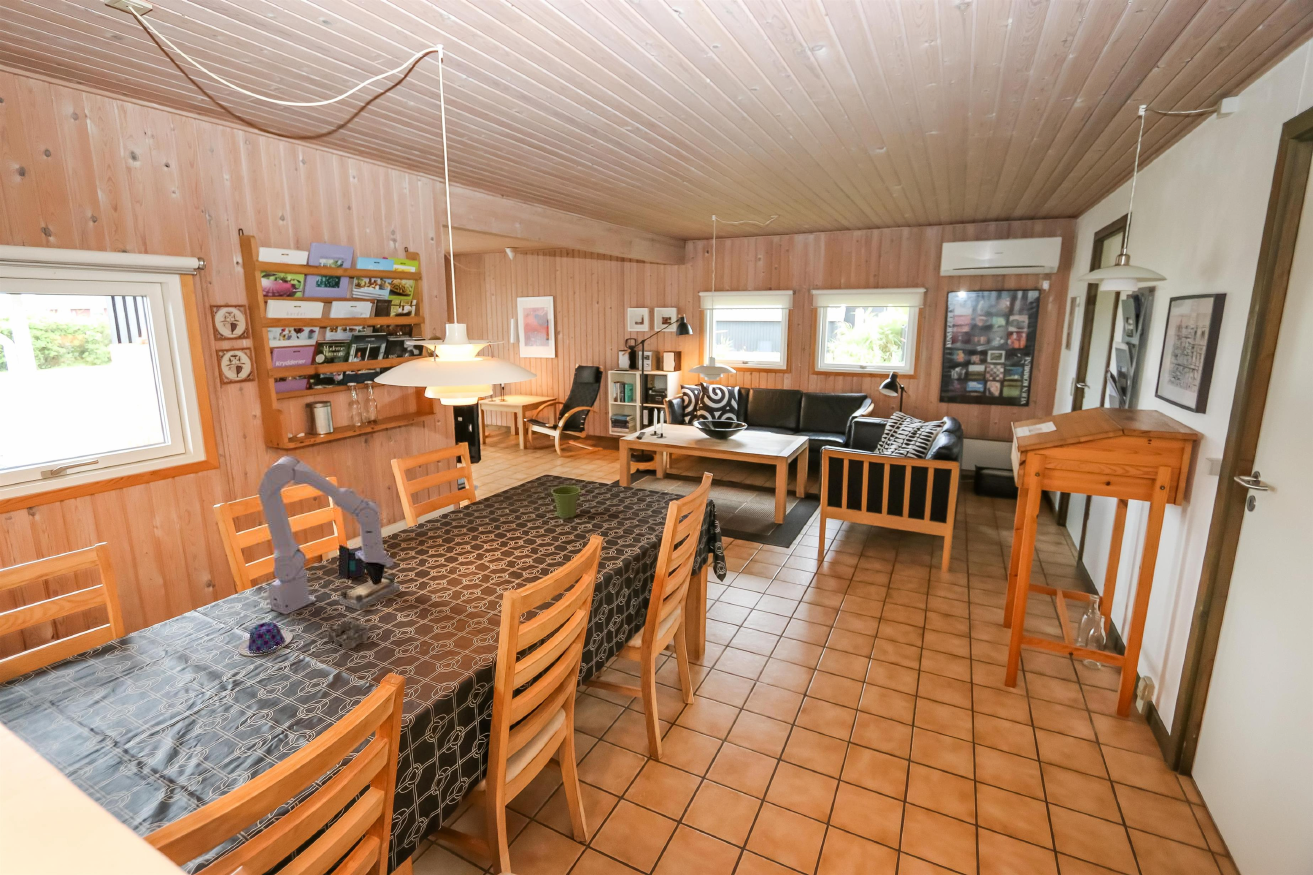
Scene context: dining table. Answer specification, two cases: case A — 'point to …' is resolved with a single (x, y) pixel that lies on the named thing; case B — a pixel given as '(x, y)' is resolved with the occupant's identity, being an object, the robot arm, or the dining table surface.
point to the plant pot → (566, 500)
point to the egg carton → (348, 633)
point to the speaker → (350, 562)
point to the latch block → (370, 595)
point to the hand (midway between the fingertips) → (377, 583)
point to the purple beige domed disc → (265, 638)
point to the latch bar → (367, 589)
